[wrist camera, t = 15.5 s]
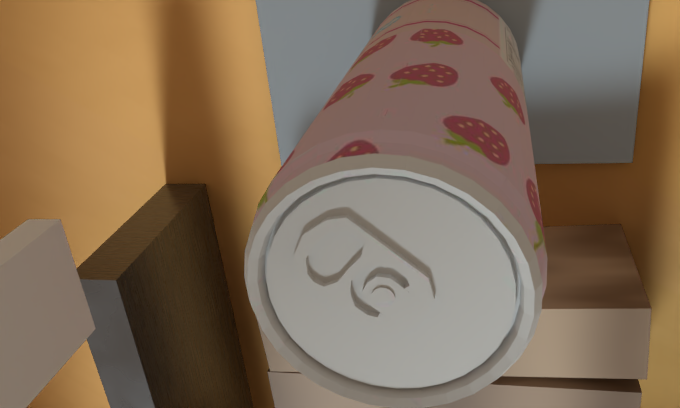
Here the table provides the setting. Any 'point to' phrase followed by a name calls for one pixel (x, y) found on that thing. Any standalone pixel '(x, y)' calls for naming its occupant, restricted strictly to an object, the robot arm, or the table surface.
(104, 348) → the tray
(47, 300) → the robot arm
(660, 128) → the table surface
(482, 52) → the beverage can
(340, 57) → the mat
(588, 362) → the offcut slab
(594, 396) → the offcut slab
